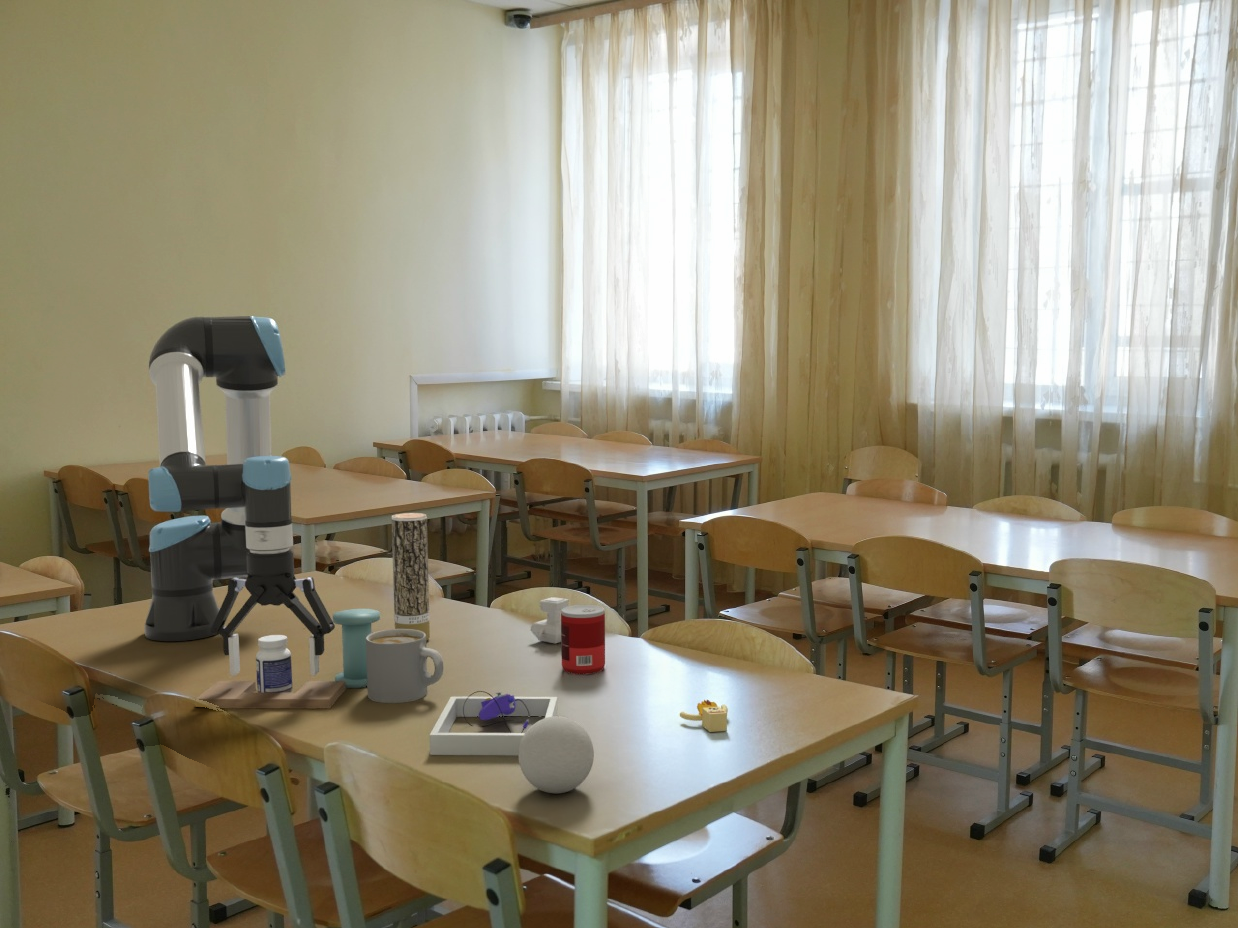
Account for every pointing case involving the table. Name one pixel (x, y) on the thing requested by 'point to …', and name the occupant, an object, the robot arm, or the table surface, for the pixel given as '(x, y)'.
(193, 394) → the robot arm
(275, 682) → the pill bottle
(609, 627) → the table surface
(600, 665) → the canned food
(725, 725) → the character toy
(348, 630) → the bobbin post
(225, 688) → the notch board
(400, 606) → the paper tube
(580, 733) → the ball
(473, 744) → the controller tray
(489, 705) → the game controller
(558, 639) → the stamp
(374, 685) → the coffee mug
